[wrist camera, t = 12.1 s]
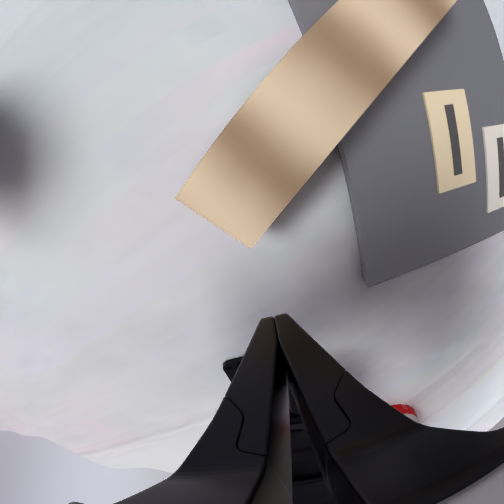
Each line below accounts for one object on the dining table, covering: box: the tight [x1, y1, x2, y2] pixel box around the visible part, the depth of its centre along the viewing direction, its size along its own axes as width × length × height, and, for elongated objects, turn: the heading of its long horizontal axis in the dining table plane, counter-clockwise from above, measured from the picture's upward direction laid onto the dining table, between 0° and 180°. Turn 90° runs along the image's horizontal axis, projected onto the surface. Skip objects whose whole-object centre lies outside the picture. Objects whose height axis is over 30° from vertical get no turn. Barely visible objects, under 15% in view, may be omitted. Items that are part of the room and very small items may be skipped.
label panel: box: [288, 0, 504, 287], centre depth 15 cm, size 23×17×1 cm
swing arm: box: [175, 0, 457, 249], centre depth 12 cm, size 22×4×3 cm, turn 143°
